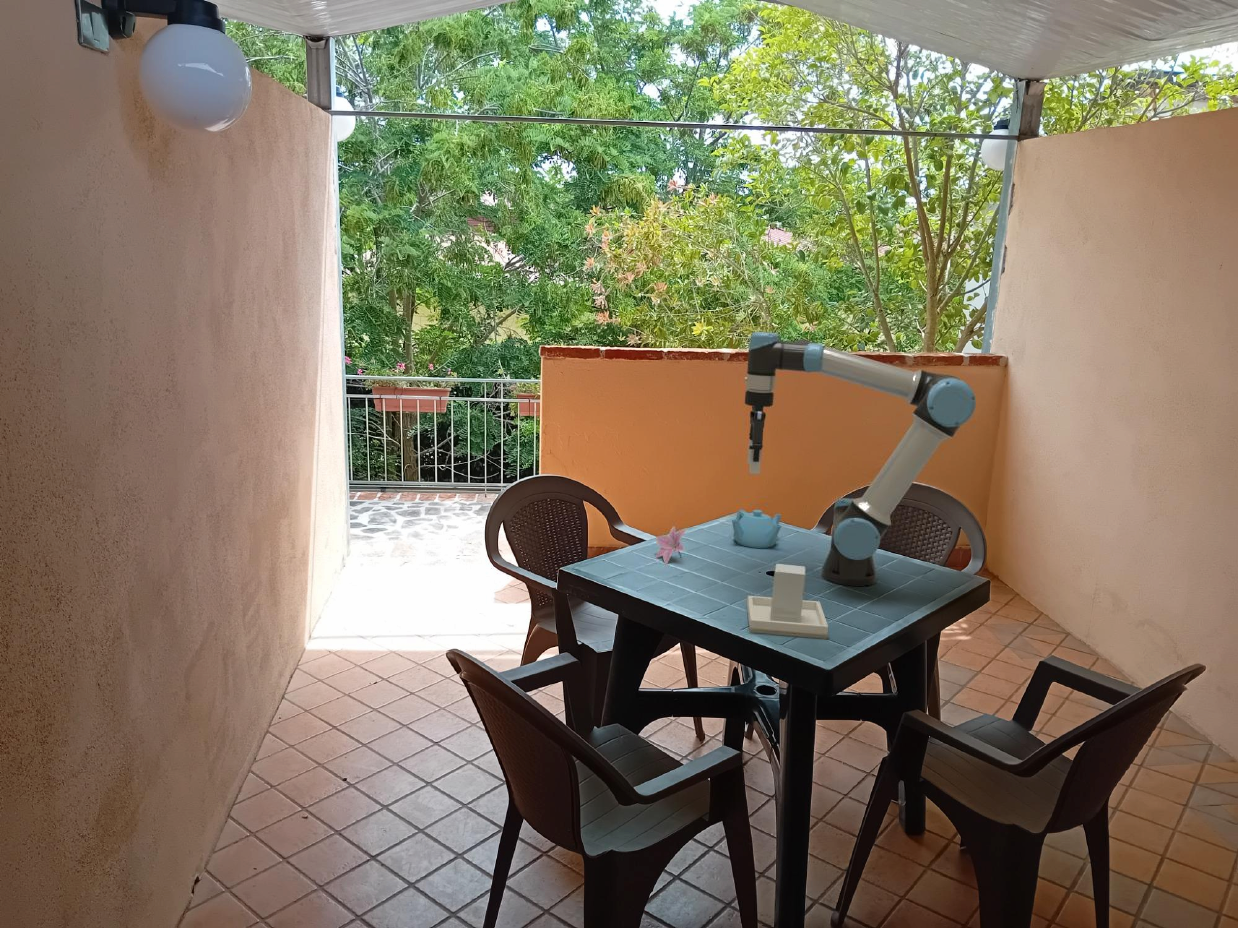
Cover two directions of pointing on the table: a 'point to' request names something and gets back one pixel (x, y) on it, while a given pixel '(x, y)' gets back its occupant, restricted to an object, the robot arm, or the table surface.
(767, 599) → the tray
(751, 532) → the teapot
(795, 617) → the supplement box
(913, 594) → the table surface
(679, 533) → the lily
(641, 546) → the table surface
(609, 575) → the table surface
